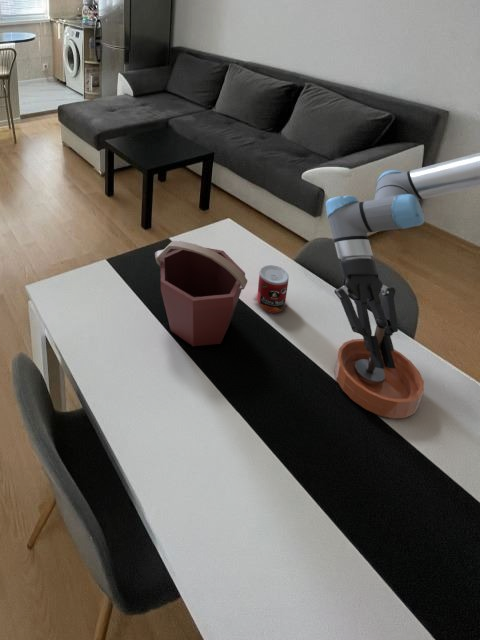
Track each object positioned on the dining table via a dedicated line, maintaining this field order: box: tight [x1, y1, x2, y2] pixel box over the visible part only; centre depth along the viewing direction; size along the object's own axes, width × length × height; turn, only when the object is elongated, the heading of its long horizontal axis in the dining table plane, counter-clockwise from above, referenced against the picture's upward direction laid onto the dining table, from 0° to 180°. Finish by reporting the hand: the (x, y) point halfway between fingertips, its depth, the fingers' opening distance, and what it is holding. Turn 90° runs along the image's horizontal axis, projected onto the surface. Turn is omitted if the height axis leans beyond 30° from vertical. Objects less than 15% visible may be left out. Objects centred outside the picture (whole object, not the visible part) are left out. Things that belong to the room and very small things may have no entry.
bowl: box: [334, 338, 425, 419], centre depth 100 cm, size 16×16×6 cm
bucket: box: [154, 240, 248, 347], centre depth 118 cm, size 24×22×25 cm
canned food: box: [256, 264, 290, 314], centre depth 125 cm, size 8×8×11 cm
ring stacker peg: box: [355, 318, 388, 385], centre depth 99 cm, size 6×6×17 cm
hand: (384, 367), depth 96 cm, fingers closed on ring stacker peg, 2 cm apart
